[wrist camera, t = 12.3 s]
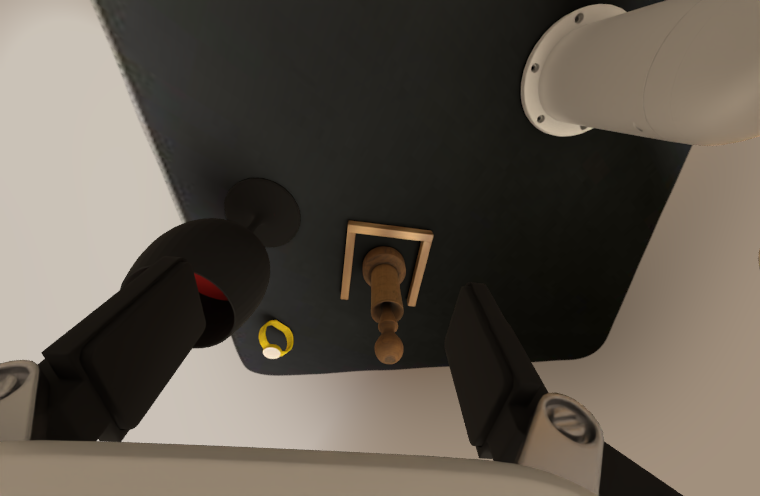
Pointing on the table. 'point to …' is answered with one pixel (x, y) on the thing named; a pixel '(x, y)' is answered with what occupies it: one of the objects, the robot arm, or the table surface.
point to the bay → (393, 232)
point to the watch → (271, 349)
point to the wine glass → (230, 253)
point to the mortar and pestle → (386, 299)
